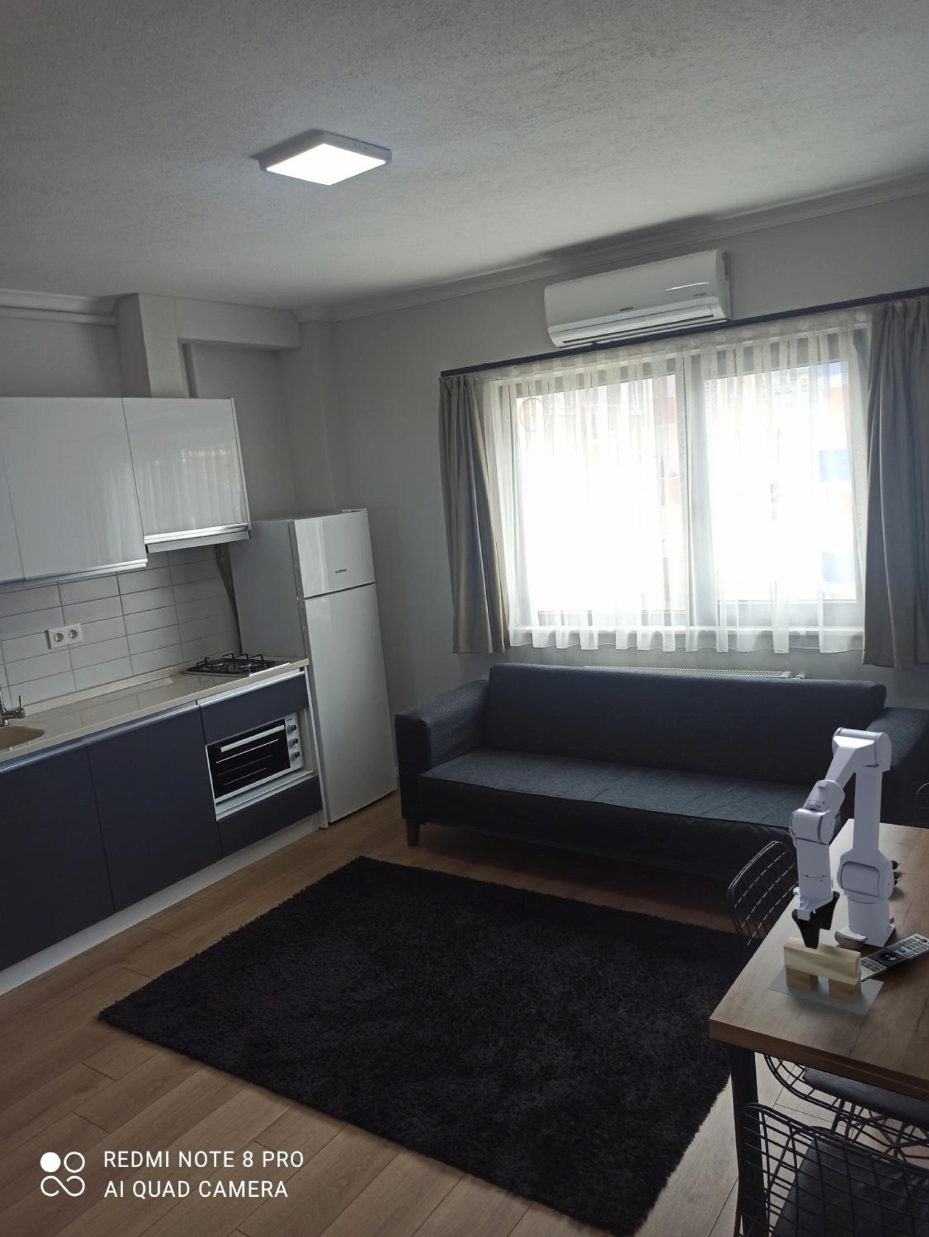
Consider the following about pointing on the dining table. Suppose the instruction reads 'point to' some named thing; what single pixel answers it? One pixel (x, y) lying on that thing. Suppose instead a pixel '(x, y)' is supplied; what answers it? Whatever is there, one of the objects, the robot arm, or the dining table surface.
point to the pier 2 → (844, 990)
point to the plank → (823, 961)
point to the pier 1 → (800, 979)
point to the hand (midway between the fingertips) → (818, 937)
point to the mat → (822, 993)
